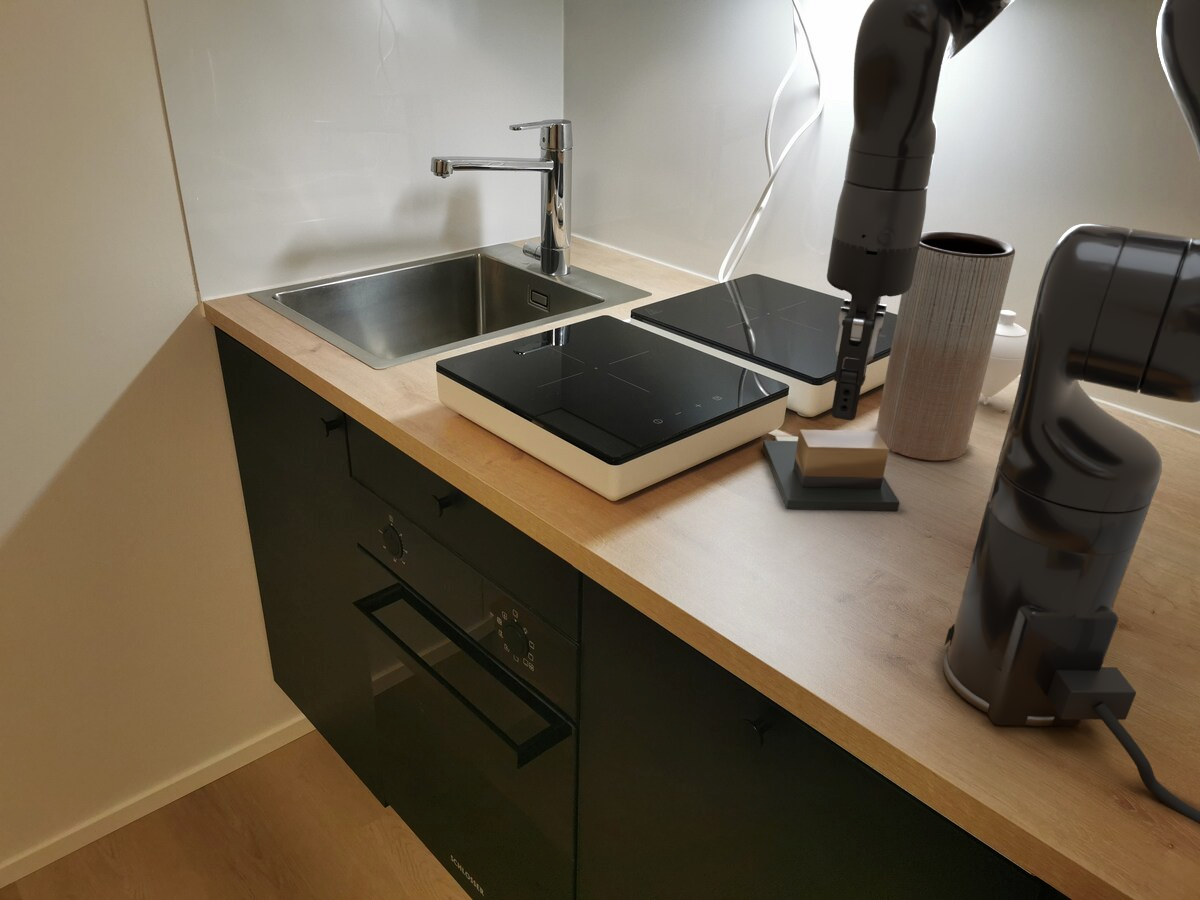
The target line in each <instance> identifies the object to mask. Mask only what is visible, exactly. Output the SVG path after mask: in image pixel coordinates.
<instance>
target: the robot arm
mask: <svg viewBox="0 0 1200 900" xmlns="http://www.w3.org/2000/svg"><path fill="white" fill-rule="evenodd" d="M1014 1H1015V0H873V1H872V2H871V3H870V4H869V6H868V8H867V9H866V11H865V13H864V14H863V18H862V19H861V22H860V25H859V29H858V33H857V37H856V43H855V44H856V45H855V50H854V61H853V87H852V89H853V95H852V96H853V97H852V98H853V99H852V107H853V109H852V110H853V128H852V132H851V137H850V141H849V142H850V143H849V145H848V146H849V149H848V153H847V160H846V167H845V173H844V180H843V185H842V189H841V192H840V195H839V199H838V203H837V206H836V213H835V219H834V225H833V233H832V240H831V244H830V253H829V259H828V264H827V272H826V273H827V274H826V280H827V282H828V283H829V284H830V285H831V286H832V287H833V288H835V289H837V290H839V291H845V292H847V293H848V294H850V296H851V297H850V299H847V298H844V299H843V302H842V306H840V310H839V315H838V327H839V329H838V333H837V334H838V335H837V339H836V345H835V355H836V357H837V361H836V367H835V371H833V375H832V376H833V378H834V379H833V380H834V382H836V383H835V389H834V395H833V401H832V407H831V416H832V418H834V419H839V420H844V421H853V420H855V419H856V416H857V412H858V406H859V400H860V394H861V389H862V386H863V385H864V383H865V381H866V376H867V374H866V373H867V368H868V363H869V362H872V361H873V360H874V357H875V352H876V347H877V342H878V338H879V336H880V333H881V332H882V330H883V325H884V322H885V316H886V312H887V306H888V304H886V303H885V304H884V303H881V298H882V297H897V296H901V294H904V293H906V292H907V291H908V290H909V289H910V287H911V285H912V280H913V275H914V269H915V264H916V259H917V254H918V249H919V244H920V239H921V234H922V233H923V228H924V224H925V219H926V218H925V217H926V210H927V193H928V186H929V182H930V177H931V172H932V167H933V161H934V156H935V150H936V145H937V137H938V136H937V134H938V133H937V132H938V129H937V123H936V120H935V119H934V109H935V105H936V101H937V94H938V88H939V82H940V78H941V72H942V68H943V67H944V66H945V65H946V64H947V63H949V62H950V61H951V60H952V59H953V58H955V57H956V56H957V55H959V53H960V52H962V51H963V50H964V49H965V48H966V47H967V46H968V45H970V44H971V43H972V42H973V41H974V40H975V39H976V38H977V37H978V36H979V35H980V34H981V33H983V31H984V30H985V29H987V27H988V26H989V25H991V24H992V23H993V22H994V21H995V20H996V19H997V17H999V16H1000V15H1001V14H1002V13H1003V12H1004V11H1005V10H1006V8H1008V7H1009V6H1010V5H1011V4H1012V3H1013V2H1014ZM1156 44H1157V51H1158V55H1159V59H1160V62H1161V67H1162V69H1163V71H1164V74H1165V77H1166V80H1167V82H1168V85H1169V87H1170V90H1171V92H1172V95H1173V98H1174V99H1175V102H1176V104H1177V106H1178V108H1179V110H1180V112H1181V115H1182V117H1183V119H1184V122H1185V124H1186V126H1187V129H1188V131H1189V133H1190V135H1191V138H1192V141H1193V143H1194V146H1195V149H1196V152H1197V156H1198V159H1199V161H1200V0H1163V2H1162V5H1161V8H1160V10H1159V14H1158V17H1157V23H1156ZM1189 239H1190V240H1189ZM1028 335H1029V336H1028V341H1027V347H1026V352H1025V357H1024V362H1023V367H1022V371H1021V374H1020V375H1019V376H1020V378H1019V381H1018V385H1017V391H1016V394H1015V397H1014V401H1013V405H1012V409H1011V412H1010V417H1009V421H1008V425H1007V428H1006V432H1005V435H1004V438H1003V439H1004V440H1003V443H1002V446H1001V448H1000V453H999V457H998V460H997V461H998V462H997V465H996V468H995V472H994V475H993V480H992V484H991V487H990V491H989V495H988V498H987V502H986V505H985V509H984V513H983V516H982V519H981V522H980V523H981V524H980V528H979V532H978V535H977V539H976V541H975V542H976V543H975V546H974V550H973V554H972V557H971V558H972V559H971V561H970V565H969V568H968V572H967V576H966V578H965V579H966V580H965V584H964V587H963V590H962V595H961V599H960V601H959V606H958V610H957V613H956V616H955V621H954V624H952V626H950V627H949V628H948V631H947V634H946V638H945V642H944V645H943V646H944V647H945V646H947V647H946V650H945V653H944V658H943V671H944V675H945V677H946V679H947V681H948V682H949V684H950V686H951V687H952V688H953V690H955V691H956V692H957V694H958V695H959V696H961V697H962V698H963V699H964V700H966V701H967V702H968V703H970V704H971V705H972V706H974V707H976V708H977V709H978V710H981V711H983V712H984V713H986V715H987V716H988V717H989V718H990V720H991V722H992V723H993V724H994V725H996V726H1032V727H1047V726H1048V727H1050V726H1052V727H1053V726H1054V727H1055V726H1059V727H1062V726H1063V727H1065V726H1068V727H1078V726H1081V724H1082V721H1083V720H1096V721H1097V720H1101V721H1102V722H1103V723H1104V724H1105V726H1106V727H1107V728H1108V730H1109V731H1110V732H1111V733H1112V734H1113V736H1114V737H1115V738H1116V740H1117V741H1118V742H1119V744H1120V745H1121V746H1122V748H1123V749H1124V750H1125V752H1126V753H1127V754H1128V756H1129V757H1130V758H1131V760H1132V762H1133V763H1134V765H1135V766H1136V769H1137V771H1138V774H1139V777H1140V779H1141V781H1142V783H1143V785H1144V787H1145V788H1146V789H1147V790H1148V791H1149V792H1150V793H1151V794H1152V796H1154V797H1156V798H1157V799H1158V800H1159V801H1160V802H1161V803H1163V804H1164V805H1165V806H1167V807H1168V808H1170V809H1171V810H1173V811H1175V812H1177V813H1179V814H1180V815H1182V816H1185V817H1186V818H1188V819H1190V820H1191V821H1194V822H1195V823H1197V824H1199V825H1200V810H1198V809H1196V808H1194V807H1193V806H1192V805H1189V804H1188V803H1186V802H1185V801H1183V800H1182V799H1180V798H1178V797H1177V796H1176V795H1175V794H1173V793H1172V792H1170V790H1168V789H1167V788H1166V787H1165V786H1164V785H1162V784H1161V783H1160V782H1159V781H1158V779H1157V778H1156V776H1155V773H1154V770H1153V768H1152V766H1151V763H1150V762H1149V760H1148V758H1147V757H1146V755H1145V754H1144V752H1143V750H1142V749H1141V747H1139V745H1138V744H1137V742H1136V741H1135V740H1134V738H1133V737H1132V736H1131V735H1130V733H1129V732H1128V730H1126V728H1125V727H1124V726H1123V724H1122V723H1121V722H1120V721H1125V720H1127V717H1128V715H1129V713H1130V710H1131V707H1132V704H1133V703H1134V699H1135V698H1136V695H1137V691H1136V690H1135V689H1134V688H1133V686H1132V685H1131V683H1130V682H1129V681H1128V680H1127V679H1126V677H1125V676H1124V675H1123V673H1122V672H1121V671H1120V670H1119V668H1118V667H1115V666H1103V664H1104V661H1105V658H1106V656H1107V653H1108V650H1109V648H1110V645H1111V642H1112V641H1113V640H1112V639H1113V637H1114V634H1115V631H1116V628H1117V626H1118V623H1119V620H1120V619H1119V616H1118V614H1117V613H1116V611H1115V610H1114V609H1113V608H1114V606H1115V603H1116V600H1117V598H1118V595H1119V592H1120V589H1121V587H1122V583H1123V581H1124V578H1125V575H1126V572H1127V569H1128V566H1129V565H1130V561H1131V559H1132V556H1133V553H1134V550H1135V547H1136V545H1137V541H1138V539H1139V537H1140V535H1141V532H1142V529H1143V525H1144V523H1145V521H1146V517H1147V515H1148V512H1149V510H1150V507H1151V504H1152V501H1153V498H1154V496H1155V493H1156V490H1157V488H1158V485H1159V482H1160V479H1161V475H1162V472H1163V471H1162V469H1163V461H1162V457H1161V455H1160V453H1159V451H1158V450H1157V448H1156V446H1154V443H1152V442H1150V440H1149V439H1148V438H1146V437H1145V436H1144V435H1143V434H1141V433H1140V432H1138V431H1137V430H1136V429H1134V428H1132V427H1130V426H1129V425H1128V424H1125V422H1123V421H1121V420H1119V419H1117V418H1116V417H1115V416H1113V415H1112V414H1110V413H1109V412H1107V411H1106V410H1105V409H1103V408H1102V407H1101V406H1100V405H1098V404H1097V403H1096V402H1095V401H1094V400H1093V399H1092V398H1091V397H1090V396H1089V394H1087V393H1086V391H1085V390H1084V389H1083V388H1082V386H1081V385H1080V383H1079V381H1080V382H1082V381H1083V382H1086V383H1090V384H1094V385H1099V386H1103V387H1108V388H1111V389H1117V390H1122V391H1126V392H1129V393H1130V392H1131V393H1134V394H1137V393H1138V392H1139V394H1140V395H1144V396H1149V397H1153V398H1158V399H1163V400H1167V401H1173V402H1178V403H1188V404H1193V403H1198V402H1200V238H1196V237H1190V238H1189V236H1185V235H1184V236H1183V235H1178V234H1177V235H1176V234H1170V233H1163V232H1156V231H1150V230H1142V229H1136V228H1131V229H1130V228H1128V227H1122V226H1114V225H1107V224H1097V223H1080V224H1077V225H1074V226H1072V227H1070V228H1069V229H1067V231H1066V232H1065V233H1063V235H1062V236H1061V237H1060V238H1059V239H1058V240H1057V242H1056V243H1055V244H1054V246H1053V248H1052V250H1051V252H1050V255H1049V257H1048V258H1047V260H1046V263H1045V267H1044V269H1043V273H1042V276H1041V279H1040V282H1039V285H1038V289H1037V294H1036V297H1035V302H1034V306H1033V311H1032V315H1031V321H1030V326H1029V332H1028ZM948 643H949V644H948ZM947 644H948V645H947Z"/></svg>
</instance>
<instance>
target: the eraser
mask: <svg viewBox="0 0 1200 900" xmlns="http://www.w3.org/2000/svg"><path fill="white" fill-rule="evenodd" d="M797 437H798V442H797V449H796V455H795V462H794V470H795V472H796V475H797V477H798V479H799V481H800V484H801V486H802V487H825V488H875V489H881V486H882V481H883V477H885V476H884V475H885V470H886V464H887V461H888V456H889V451H890V449H889V448H888V447H887V445H886V444H885V442H884V441H883V439H882V438H881V436H880V435H879V433H878V432H877V431H876V430H843V429H839V430H838V429H835V430H834V429H799V430H798V436H797Z"/></svg>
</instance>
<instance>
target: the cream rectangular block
mask: <svg viewBox="0 0 1200 900" xmlns="http://www.w3.org/2000/svg"><path fill="white" fill-rule="evenodd" d="M774 439H775V441H798V436H788V435H787V436H784V435H783V436H779V435H776V436H775V438H774Z"/></svg>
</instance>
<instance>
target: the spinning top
mask: <svg viewBox="0 0 1200 900" xmlns="http://www.w3.org/2000/svg"><path fill="white" fill-rule="evenodd" d="M1016 317H1017V312H1015V311H1013V310H1009V309H1001V313H1000V317H999V321H998V325H997V329H996V333H995V337H994V341H993V345H992V349H991V353H990V357H989V361H988V366H987V370H986V374H985V378H984V382H983V386H982V390H981V395H982V396H983V397H984V401H983V404H984V405H987V404H988V401H989V398H992V397H993V396H995V395H997V394H999V392H1001V391H1003V390H1004V389H1006V387H1008V386H1009V385H1010V384H1011V383H1013V382H1014V381H1015V380H1016V379H1017V378H1018V377H1019V376H1021V371H1022V367H1023V362H1024V357H1025V352H1026V347H1027V341H1028V336H1029V333H1028V331H1027V330H1026V329H1025V328H1024V327H1022V326H1020V325H1019V324H1017V323H1015V320H1016Z"/></svg>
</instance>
